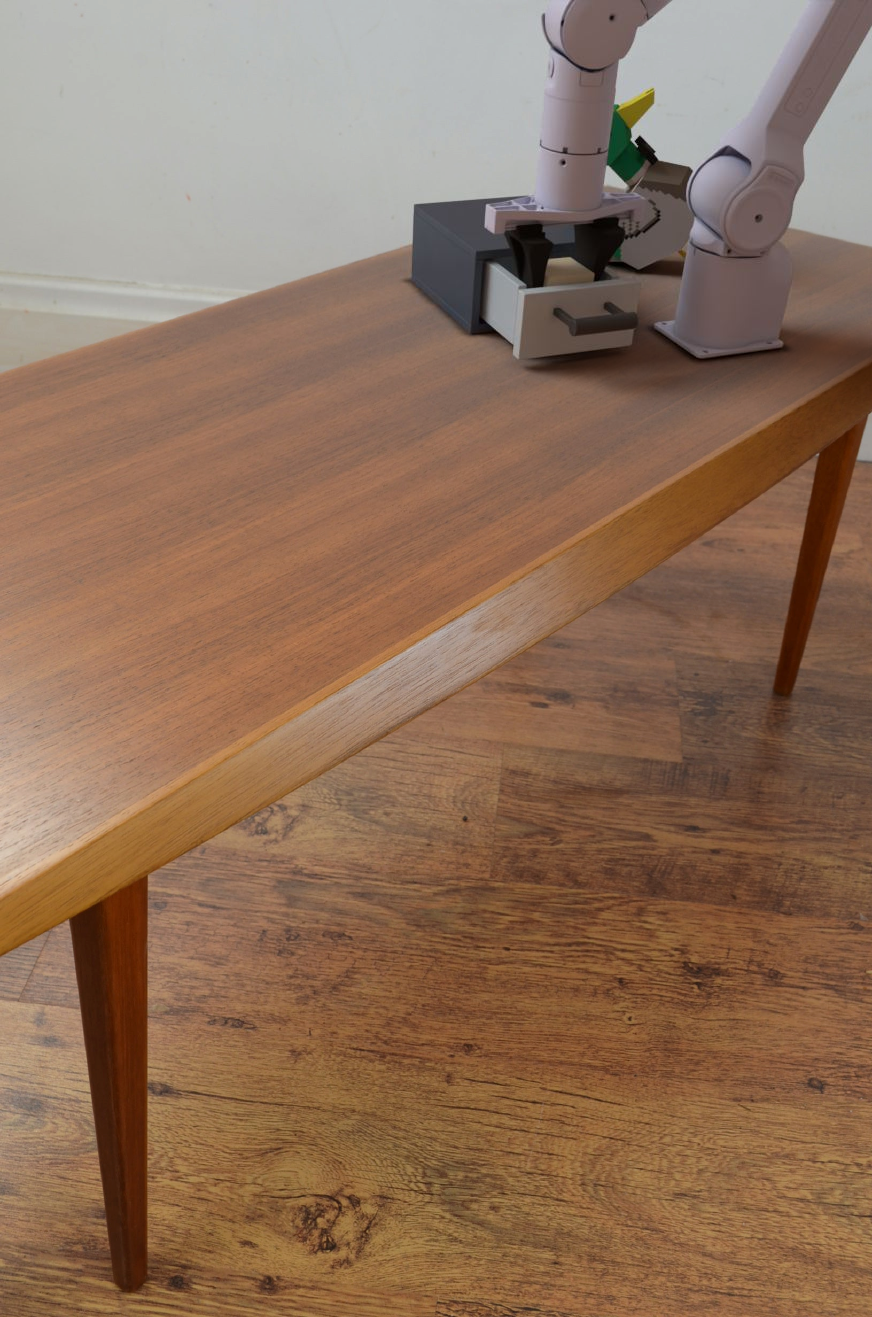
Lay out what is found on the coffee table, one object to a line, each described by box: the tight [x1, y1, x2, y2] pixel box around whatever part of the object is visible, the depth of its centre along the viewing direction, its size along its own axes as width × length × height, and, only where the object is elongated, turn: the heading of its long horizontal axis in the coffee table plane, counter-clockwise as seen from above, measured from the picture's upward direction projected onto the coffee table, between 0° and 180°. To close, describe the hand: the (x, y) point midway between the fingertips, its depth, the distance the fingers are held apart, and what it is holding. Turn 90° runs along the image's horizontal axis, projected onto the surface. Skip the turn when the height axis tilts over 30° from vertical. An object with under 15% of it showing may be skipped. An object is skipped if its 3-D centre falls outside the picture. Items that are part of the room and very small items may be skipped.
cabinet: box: [410, 195, 575, 335], centre depth 111 cm, size 15×13×8 cm
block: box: [543, 257, 594, 287], centre depth 103 cm, size 4×4×5 cm
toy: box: [606, 86, 695, 270], centre depth 120 cm, size 6×17×20 cm
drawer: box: [479, 251, 642, 361], centre depth 103 cm, size 18×11×6 cm, turn 23°
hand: (555, 307), depth 103 cm, fingers closed on block, 4 cm apart
